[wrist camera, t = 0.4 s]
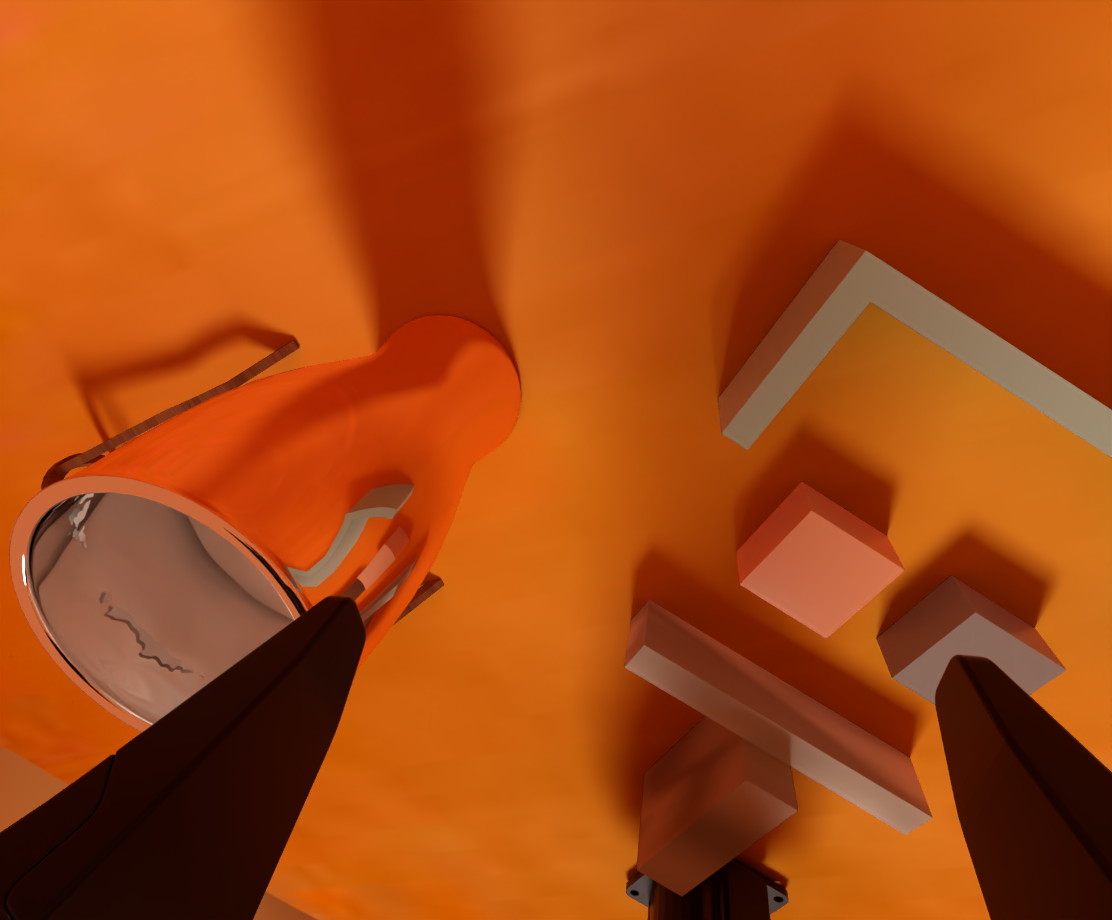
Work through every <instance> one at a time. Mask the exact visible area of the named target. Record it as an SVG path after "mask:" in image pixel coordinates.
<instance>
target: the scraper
mask: <svg viewBox="0 0 1112 920" xmlns="http://www.w3.org/2000/svg"><path fill="white" fill-rule="evenodd" d="M624 668H626V669H628V670H630V671H631V672H633V673H635V674H636V675H638V676H640V677H641V678H643V679H645V680H646V681H648V682H650V683H651V684H653V685H655V686H656V687H658V688H660V689H661V690H663V691H665V692H666V693H668V694H670V695H671V696H673V697H675V698H676V699H678V700H680V701H682V702H683V703H685V704H687V705H688V706H690V707H692V708H693V709H695V710H697V711H698V712H700V713H702V714H703V715H705V717H704V718H703V719H702V720H701V721H699V722H698V723H697V724H696V725H695V726H694V727H693V728H692V729H691V730H690V731H689V732H688V733H687V734H686V735H685V736H683V737H682V738H681V739H680V740H679V741H678V742H677V743H676V744H675V745H674V746H673V747H672V748H671V749H670V750H669V751H668V752H666V753H665V754H664V755H663V756H662V757H661V758H660V759H659V760H658V761H657V762H656V763H655V764H654V765H653V766H652V767H651V768H649V769H648V770H647V771H646V772H645V773H644V783H643V796H642V808H641V820H640V833H639V845H638V857H637V871H639V872H640V873H642V874H644V875H646V876H647V877H649V878H651V879H652V880H654V881H656V882H658V883H659V884H661V885H663V886H665V887H666V888H668V889H670V890H671V891H673V892H675V893H677V894H678V895H680V896H684V895H685V894H686V893H688V892H689V891H690V890H692V889H693V888H694V887H696V886H697V885H698V884H700V883H701V882H702V881H704V880H705V879H707V878H708V877H709V876H711V875H712V874H713V873H715V872H716V871H717V870H719V869H720V868H721V867H723V866H724V865H725V864H727V863H728V862H730V861H731V860H732V859H734V858H735V857H736V856H738V855H739V854H740V853H742V852H743V851H744V850H746V849H747V848H748V847H750V846H751V845H753V844H754V843H755V842H757V841H758V840H759V839H761V838H762V837H763V836H765V835H766V834H767V833H769V832H770V831H771V830H773V829H774V828H776V827H777V826H778V825H780V824H781V823H782V822H784V821H785V820H786V819H788V818H789V817H790V816H792V815H793V814H794V813H796V812H797V811H798V807H797V801H796V795H795V789H794V783H793V777H792V771H791V767H792V768H794V769H796V770H797V771H799V772H801V773H802V774H804V775H806V776H807V777H809V778H811V779H812V780H814V781H816V782H817V783H819V784H821V785H822V786H824V787H826V788H827V789H829V790H831V791H833V792H834V793H836V794H838V795H839V796H841V797H843V798H844V799H846V800H848V801H849V802H851V803H853V804H854V805H856V806H858V807H859V808H861V809H863V810H864V811H866V812H868V813H869V814H871V815H873V816H874V817H876V818H878V819H879V820H881V821H883V822H885V823H886V824H888V825H890V826H891V827H893V828H895V829H896V830H898V831H900V832H901V833H903V834H905V835H906V834H908V833H909V832H911V831H912V830H914V829H916V828H917V827H919V826H920V825H922V824H923V823H925V822H927V821H928V820H930V819H931V818H933V817H932V815H931V812H930V810H929V807H928V804H927V802H926V799H925V796H924V794H923V791H922V788H921V786H920V783H919V780H918V778H917V775H916V772H915V770H914V767H913V764H912V762H911V759H910V757H908V756H906V755H905V754H903V753H901V752H900V751H898V750H897V749H895V748H893V747H892V746H890V745H888V744H887V743H885V742H883V741H882V740H880V739H878V738H877V737H875V736H873V735H872V734H870V733H868V732H867V731H865V730H864V729H862V728H860V727H859V726H857V725H855V724H854V723H852V722H850V721H849V720H847V719H845V718H844V717H842V716H840V715H839V714H837V713H836V712H834V711H832V710H831V709H829V708H827V707H826V706H824V705H822V704H821V703H819V702H817V701H816V700H814V699H812V698H811V697H809V696H807V695H806V694H804V693H803V692H801V691H799V690H798V689H796V688H794V687H793V686H791V685H789V684H788V683H786V682H784V681H783V680H781V679H779V678H778V677H776V676H774V675H773V674H771V673H770V672H768V671H766V670H765V669H763V668H761V667H760V666H758V665H756V664H755V663H753V662H751V661H750V660H748V659H746V658H745V657H743V656H741V655H740V654H738V653H737V652H735V651H733V650H732V649H730V648H728V647H727V646H725V645H723V644H722V643H720V642H718V641H717V640H715V639H713V638H712V637H710V636H708V635H707V634H705V633H704V632H702V631H700V630H699V629H697V628H695V627H694V626H692V625H690V624H689V623H687V622H685V621H684V620H682V619H680V618H679V617H677V616H675V615H674V614H672V613H671V612H669V611H667V610H666V609H664V608H662V607H661V606H659V605H657V604H656V603H654V602H652V601H651V600H648V601H647V602H646V604H645V605H644V606H643V607H642V608H641V609H640V611H639V612H638V613H637V614H636V615H635V616H634V618H633V619H632V620H631V622H630V630H629V637H628V644H627V651H626V658H625V665H624Z"/></svg>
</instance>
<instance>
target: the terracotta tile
mask: <svg viewBox="0 0 1112 920" xmlns="http://www.w3.org/2000/svg"><path fill="white" fill-rule="evenodd" d="M736 556H737V566H738V575H739V584H740V585H741V586H742V587H744V588H746V589H747V590H749V591H750V592H752V593H754V594H755V595H757V596H758V597H760V598H762V599H763V600H765V601H766V602H768V603H770V604H771V605H773V606H774V607H776V608H778V609H779V610H781V611H782V612H784V613H786V614H787V615H789V616H791V617H792V618H794V619H795V620H797V621H799V622H800V623H802V624H803V625H805V626H807V627H808V628H810V629H811V630H813V631H815V632H816V633H818V634H819V635H821V636H823V637H824V638H826V639H827V638H828V637H829V636H830V635H831V634H833V633H834V632H835V631H836V630H837V629H838V628H839V627H841V626H842V625H843V624H844V623H845V622H846V621H847V620H849V619H850V618H851V617H852V616H853V615H854V614H855V613H857V612H858V611H859V610H860V609H861V608H862V607H863V606H865V605H866V604H867V603H868V602H869V601H870V600H871V599H873V598H874V597H875V596H876V595H877V594H878V593H879V592H881V591H882V590H883V589H884V588H885V587H886V586H887V585H889V584H890V583H891V582H892V581H893V580H894V579H895V578H897V577H898V576H899V575H900V574H901V573H902V572H903V571H905V569H904V567H903V565H902V563H901V561H900V560H899V558H898V556H897V554H896V552H895V550H894V548H893V546H892V544H891V543H890V541H889V539H888V537H887V536H886V535H885V534H883V533H881V532H880V531H878V530H877V529H875V528H874V527H872V526H871V525H869V524H867V523H866V522H864V521H863V520H861V519H860V518H858V517H856V516H855V515H853V514H852V513H850V512H849V511H847V510H846V509H844V508H842V507H841V506H839V505H838V504H836V503H835V502H833V501H831V500H830V499H828V498H827V497H825V496H824V495H822V494H821V493H819V492H817V491H816V490H814V489H813V488H811V487H810V486H808V485H806V484H805V483H803V482H802V481H801V482H800V483H799V484H798V486H797V487H796V488H795V489H794V490H793V491H792V492H791V493H790V494H789V495H788V496H787V497H786V498H785V500H784V501H783V502H782V503H781V504H780V505H779V506H778V507H777V508H776V509H775V510H774V511H773V513H772V514H771V515H770V516H769V517H768V518H767V519H766V520H765V521H764V522H763V523H762V524H761V525H760V527H759V528H758V529H757V530H756V531H755V532H754V533H753V534H752V535H751V536H750V537H749V538H748V539H747V541H746V542H745V543H744V544H743V545H742V546H741V547H740V548H739V549H738V550H737V551H736Z"/></svg>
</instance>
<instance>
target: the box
mask: <svg viewBox="0 0 1112 920" xmlns="http://www.w3.org/2000/svg"><path fill="white" fill-rule="evenodd" d="M870 302H871V303H873V304H874V305H876V306H878V307H879V308H881V309H882V310H884V311H885V312H887V313H888V314H890V315H891V316H893V317H895V318H896V319H898V320H899V321H901V322H902V323H904V324H905V325H907V326H909V327H910V328H912V329H913V330H915V331H916V332H918V333H919V334H921V335H922V336H924V337H926V338H927V339H929V340H930V341H932V342H933V343H935V344H936V345H938V346H939V347H941V348H943V349H944V350H946V351H947V352H949V353H950V354H952V355H953V356H955V357H957V358H958V359H960V360H961V361H963V362H964V363H966V364H967V365H969V366H970V367H972V368H974V369H975V370H977V371H978V372H980V373H981V374H983V375H984V376H986V377H988V378H989V379H991V380H992V381H994V382H995V383H997V384H998V385H1000V386H1001V387H1003V388H1005V389H1006V390H1008V391H1009V392H1011V393H1012V394H1014V395H1015V396H1017V397H1018V398H1020V399H1022V400H1023V401H1025V402H1026V403H1028V404H1029V405H1031V406H1032V407H1034V408H1036V409H1037V410H1039V411H1040V412H1042V413H1043V414H1045V415H1046V416H1048V417H1049V418H1051V419H1053V420H1054V421H1056V422H1057V423H1059V424H1060V425H1062V426H1063V427H1065V428H1067V429H1068V430H1070V431H1071V432H1073V433H1074V434H1076V435H1077V436H1079V437H1080V438H1082V439H1084V440H1085V441H1087V442H1088V443H1090V444H1091V445H1093V446H1094V447H1096V448H1098V449H1099V450H1101V451H1102V452H1104V453H1105V454H1107V455H1108V456H1110V457H1111V458H1112V410H1111V409H1110V408H1108V407H1106V406H1105V405H1103V404H1102V403H1100V402H1099V401H1097V400H1096V399H1094V398H1093V397H1091V396H1090V395H1088V394H1086V393H1085V392H1083V391H1082V390H1080V389H1079V388H1077V387H1076V386H1074V385H1073V384H1071V383H1070V382H1068V381H1066V380H1065V379H1063V378H1062V377H1060V376H1059V375H1057V374H1056V373H1054V372H1053V371H1051V370H1050V369H1048V368H1046V367H1045V366H1043V365H1042V364H1040V363H1039V362H1037V361H1036V360H1034V359H1033V358H1031V357H1030V356H1028V355H1026V354H1025V353H1023V352H1022V351H1020V350H1019V349H1017V348H1016V347H1014V346H1013V345H1011V344H1010V343H1008V342H1006V341H1005V340H1003V339H1002V338H1000V337H999V336H997V335H996V334H994V333H993V332H991V331H990V330H988V329H986V328H985V327H983V326H982V325H980V324H979V323H977V322H976V321H974V320H973V319H971V318H970V317H968V316H966V315H965V314H963V313H962V312H960V311H959V310H957V309H956V308H954V307H953V306H951V305H949V304H948V303H946V302H945V301H943V300H942V299H940V298H939V297H937V296H936V295H934V294H933V293H931V292H929V291H928V290H926V289H925V288H923V287H922V286H920V285H919V284H917V283H916V282H914V281H913V280H911V279H909V278H908V277H906V276H905V275H903V274H902V273H900V272H899V271H897V270H896V269H894V268H893V267H891V266H889V265H888V264H886V263H885V262H883V261H882V260H880V259H879V258H877V257H876V256H874V255H873V254H871V253H869V252H868V251H866V250H864V249H862V248H859V247H857V246H854V245H852V244H849V243H847V242H844V241H842V240H840V239H839V240H838V241H837V243H836V244H835V245H834V247H833V248H832V249H831V251H830V252H829V253H828V255H827V256H826V257H825V259H824V260H823V261H822V262H821V264H820V265H819V266H818V268H817V269H816V270H815V272H814V273H813V274H812V276H811V277H810V278H809V280H808V281H807V282H806V284H805V285H804V286H803V287H802V289H801V290H800V291H799V293H798V294H797V295H796V297H795V298H794V299H793V301H792V302H791V303H790V305H789V306H788V307H787V309H786V310H785V311H784V312H783V314H782V315H781V316H780V318H779V319H778V320H777V322H776V323H775V324H774V326H773V327H772V328H771V330H770V331H769V332H768V334H767V335H766V336H765V337H764V339H763V340H762V341H761V343H760V344H759V345H758V347H757V348H756V349H755V351H754V352H753V353H752V355H751V356H750V357H749V358H748V360H747V361H746V362H745V364H744V365H743V366H742V368H741V369H740V370H739V372H738V373H737V374H736V376H735V377H734V378H733V380H732V381H731V382H730V383H729V385H728V386H727V387H726V389H725V390H724V391H723V393H722V394H721V395H720V397H719V398H718V407H719V416H720V426H721V434H722V435H724V436H726V437H727V438H729V439H730V440H732V441H734V442H735V443H737V444H738V445H740V446H742V447H743V448H745V449H746V450H748V449H749V448H750V447H751V445H752V444H753V443H754V442H755V440H756V439H757V438H758V437H759V436H760V434H761V433H762V432H763V431H764V430H765V428H766V427H767V426H768V425H769V424H770V422H771V421H772V420H773V419H774V418H775V416H776V415H777V414H778V413H779V412H780V410H781V409H782V408H783V407H784V405H785V404H786V403H787V402H788V401H789V399H790V398H791V397H792V396H793V395H794V393H795V392H796V391H797V390H798V389H799V387H800V386H801V385H802V384H803V383H804V381H805V380H806V379H807V378H808V376H809V375H810V374H811V373H812V372H813V370H814V369H815V368H816V367H817V366H818V364H819V363H820V362H821V361H822V360H823V358H824V357H825V356H826V355H827V354H828V352H829V351H830V350H831V349H832V347H833V346H834V345H835V344H836V343H837V341H838V340H839V339H840V338H841V337H842V335H843V334H844V333H845V332H846V331H847V329H848V328H849V327H850V326H851V325H852V323H853V322H854V321H855V320H856V318H857V317H858V316H859V315H860V314H861V312H862V311H863V310H864V309H865V308H866V306H867V305H868V304H869V303H870Z"/></svg>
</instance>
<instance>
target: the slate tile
mask: <svg viewBox="0 0 1112 920" xmlns="http://www.w3.org/2000/svg"><path fill="white" fill-rule="evenodd" d="M876 639H877V641H878V644H879V646H880V649H881V651H882V654H883V656H884V659H885V661H886V664H887V666H888V669H889V671H890V674H891V677H892V678H893V679H894V680H896V681H898V682H899V683H901V684H902V685H904V686H906V687H907V688H909V689H910V690H912V691H914V692H915V693H917V694H919V695H920V696H922V697H923V698H925V699H927V700H928V701H930V702H931V703H933V704H935V693H936V689H937V686H938V684H939V682H940V680H941V678H942V676H943V673H944V671H945V669H946V667H947V665H948V663H949V661H950V659H951V658H952V657H953V656H955V655H959V654H960V655H971V656H981V657H985V658H988V659H990V660H991V661H993V662H994V663H995V664H996V665H997V666H998V667H999V668H1000V669H1002V670H1003V671H1004V672H1005V673H1006V674H1007V675H1008V676H1009V677H1010V678H1011V679H1012V680H1013V681H1014V682H1015V683H1017V684H1018V685H1019V686H1020V687H1021V688H1022V689H1023V690H1024V691H1025V692H1026V693H1027V694H1028V695H1030V694H1032V693H1033V692H1035V691H1036V690H1037V689H1039V688H1040V687H1042V686H1043V685H1045V684H1046V683H1048V682H1049V681H1051V680H1052V679H1054V678H1055V677H1057V676H1058V675H1060V674H1061V673H1063V672H1064V671H1066V669H1065V667H1064V666H1063V665H1062V663H1061V662H1060V661H1059V659H1058V658H1057V657H1056V656H1055V654H1054V653H1053V652H1052V650H1051V649H1050V648H1049V646H1048V645H1047V644H1046V642H1045V641H1044V640H1043V638H1042V637H1041V636H1040V634H1039V633H1038V632H1037V630H1036V629H1035V628H1034V627H1032V626H1031V625H1029V624H1027V623H1026V622H1024V621H1023V620H1021V619H1020V618H1018V617H1016V616H1015V615H1013V614H1012V613H1010V612H1009V611H1007V610H1005V609H1004V608H1002V607H1001V606H999V605H997V604H996V603H994V602H993V601H991V600H990V599H988V598H986V597H985V596H983V595H982V594H980V593H979V592H977V591H975V590H974V589H972V588H971V587H969V586H968V585H966V584H964V583H963V582H961V581H960V580H958V579H957V578H955V577H953V576H952V575H951V576H950V577H949V578H947V579H946V580H945V581H944V582H943V583H941V584H940V585H939V586H938V587H937V588H936V589H934V590H933V591H932V592H931V593H930V594H928V595H927V596H926V597H925V598H924V599H922V600H921V601H920V602H919V603H918V604H917V605H915V606H914V607H913V608H912V609H911V610H909V611H908V612H907V613H906V614H905V615H903V616H902V617H901V618H900V619H899V620H898V621H896V622H895V623H894V624H893V625H892V626H890V627H889V628H888V629H887V630H886V631H885V632H883V633H882V634H881V635H880V636H879V637H877V638H876Z"/></svg>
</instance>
